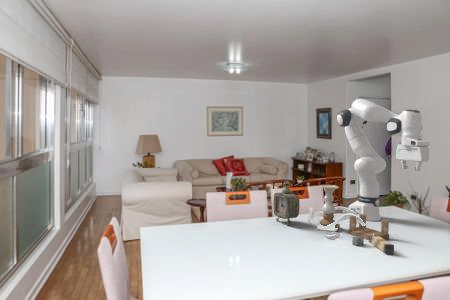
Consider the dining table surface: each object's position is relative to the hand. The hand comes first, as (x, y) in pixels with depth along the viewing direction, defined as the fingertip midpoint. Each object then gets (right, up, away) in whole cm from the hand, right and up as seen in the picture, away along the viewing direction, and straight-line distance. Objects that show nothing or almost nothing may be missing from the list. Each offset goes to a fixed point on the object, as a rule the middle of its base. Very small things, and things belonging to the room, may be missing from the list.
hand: (411, 169), depth 163 cm
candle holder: (-35, -34, +20) cm, 53 cm away
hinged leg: (-20, -35, -11) cm, 42 cm away
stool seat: (-18, -35, +7) cm, 40 cm away
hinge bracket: (-20, -35, -3) cm, 41 cm away
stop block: (-29, -35, -6) cm, 46 cm away
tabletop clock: (-56, -33, +31) cm, 72 cm away
